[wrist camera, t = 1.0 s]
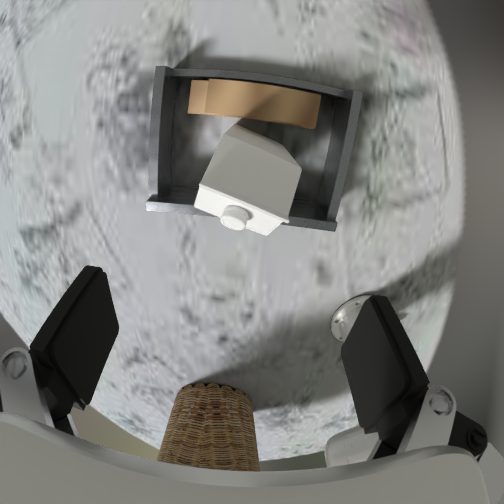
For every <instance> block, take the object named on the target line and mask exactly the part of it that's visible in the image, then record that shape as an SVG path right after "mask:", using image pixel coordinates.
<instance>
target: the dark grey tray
mask: <svg viewBox="0 0 504 504" xmlns="http://www.w3.org/2000/svg"><path fill="white" fill-rule="evenodd" d="M178 78H201V79H221V80H234V81H245V82H254V83H262V84H269V85H276V86H282V87H288V88H294V89H299V90H304V91H309V92H314V93H318V94H323V95H327V96H331V97H335V98H337V104H336V110H335V116H334V121H333V127H332V132H331V137H330V143H329V148H328V153H327V158H326V163H325V168H324V172H323V177H322V182H321V186H320V191H319V196H318V200H317V202H310V201H304V200H297V199H293V201H292V205H291V208H290V211H289V215H288V218H289V221H290V222H289V223H285V222H282V223H281V224H282V225H289V226H297V227H305V228H312V229H319V230H327V231H334V232H335V230H336V227H337V222H336V216H337V212H338V208H339V204H340V201H341V197H342V193H343V188H344V184H345V180H346V176H347V172H348V167H349V163H350V158H351V154H352V149H353V144H354V139H355V134H356V129H357V124H358V118H359V113H360V107H361V101H362V95H363V92H360V91H356V90H347V91H345V90H341V89H338V88H334V87H330V86H326V85H321V84H317V83H313V82H308V81H303V80H298V79H293V78H287V77H281V76H275V75H268V74H260V73H252V72H242V71H231V70H215V69H172V68H170V67H167V66H156V70H155V78H154V87H153V97H152V108H151V123H150V142H149V199H148V200H147V201H146V210H148V211H160V212H171V213H182V214H192V215H202V216H212V217H218V216H215V215H212V214H210V213H207V212H205V211H203V210H200V209H198V208H196V207H194V204H195V200H196V197H197V194H198V190H199V188H194V187H182V186H170V177H171V153H172V136H173V123H174V111H175V100H176V91H177V82H178Z"/></svg>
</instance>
